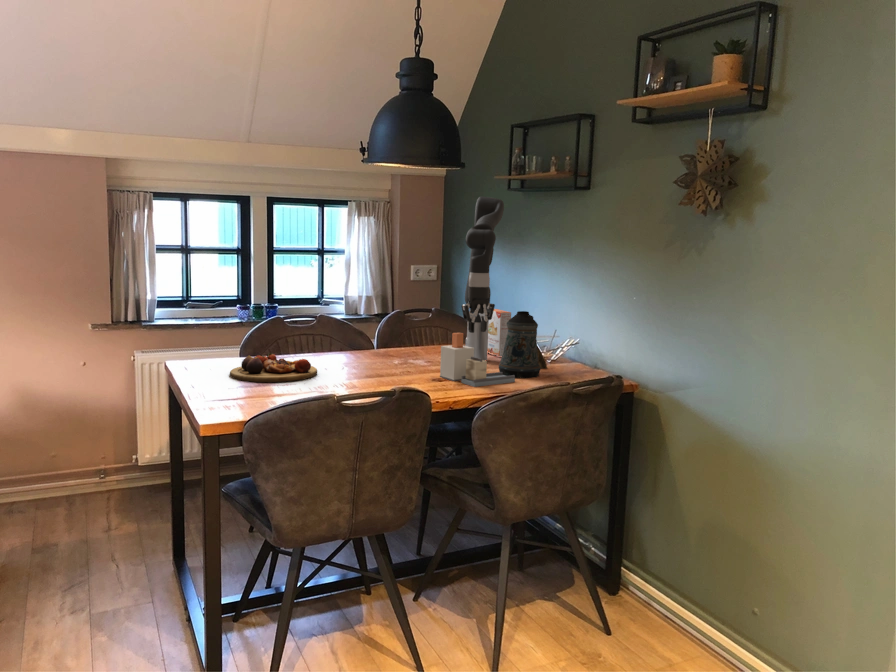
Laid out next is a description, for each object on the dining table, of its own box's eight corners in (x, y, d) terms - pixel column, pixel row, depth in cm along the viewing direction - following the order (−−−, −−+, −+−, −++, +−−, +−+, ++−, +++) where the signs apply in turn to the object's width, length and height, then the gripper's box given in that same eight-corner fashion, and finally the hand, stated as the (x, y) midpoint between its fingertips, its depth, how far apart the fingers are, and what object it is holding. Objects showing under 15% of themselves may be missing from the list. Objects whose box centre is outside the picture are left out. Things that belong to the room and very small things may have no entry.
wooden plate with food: (335, 375, 268) (335, 353, 267) (268, 387, 242) (268, 363, 242) (279, 366, 287) (279, 346, 286) (212, 376, 261) (211, 354, 260)
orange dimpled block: (451, 356, 267) (452, 332, 266) (458, 355, 269) (458, 332, 268) (456, 357, 265) (457, 333, 264) (462, 356, 267) (463, 333, 266)
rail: (461, 382, 260) (461, 376, 259) (501, 378, 271) (501, 371, 270) (474, 386, 253) (474, 380, 253) (514, 382, 264) (514, 375, 264)
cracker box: (483, 353, 329) (485, 308, 326) (495, 352, 332) (496, 308, 329) (498, 358, 316) (500, 312, 314) (510, 357, 319) (511, 311, 316)
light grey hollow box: (439, 376, 269) (440, 346, 268) (459, 374, 275) (460, 344, 273) (453, 381, 262) (454, 349, 260) (473, 379, 267) (474, 348, 266)
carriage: (465, 378, 259) (466, 357, 258) (476, 376, 262) (476, 356, 261) (475, 381, 254) (476, 360, 253) (486, 379, 257) (487, 359, 256)
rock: (514, 359, 300) (524, 360, 290) (525, 343, 302) (535, 343, 292) (533, 374, 303) (543, 375, 293) (544, 358, 304) (554, 359, 295)
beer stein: (498, 377, 272) (501, 313, 268) (498, 368, 291) (500, 308, 288) (541, 379, 271) (544, 315, 268) (538, 370, 290) (541, 309, 287)
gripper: (488, 284, 261) (486, 329, 263) (456, 284, 252) (455, 331, 255) (501, 285, 255) (499, 332, 257) (469, 286, 246) (467, 334, 249)
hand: (477, 331), depth 256 cm, fingers open, 4 cm apart
